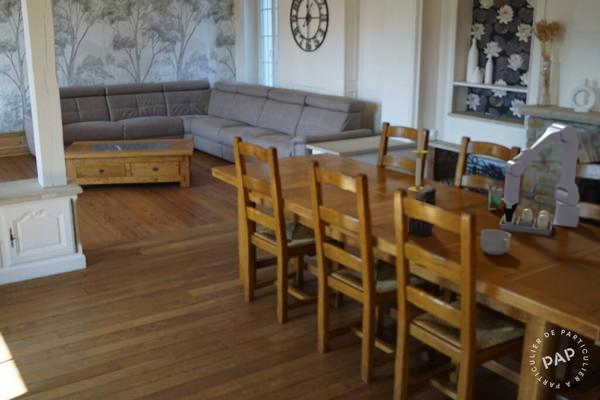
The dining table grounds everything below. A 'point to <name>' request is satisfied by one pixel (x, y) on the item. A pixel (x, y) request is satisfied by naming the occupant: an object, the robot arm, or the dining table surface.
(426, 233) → the owl
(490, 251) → the teacup
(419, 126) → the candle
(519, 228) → the carton
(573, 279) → the dining table surface
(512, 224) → the white egg-shaped capsule
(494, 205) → the food container
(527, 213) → the seated eggs
